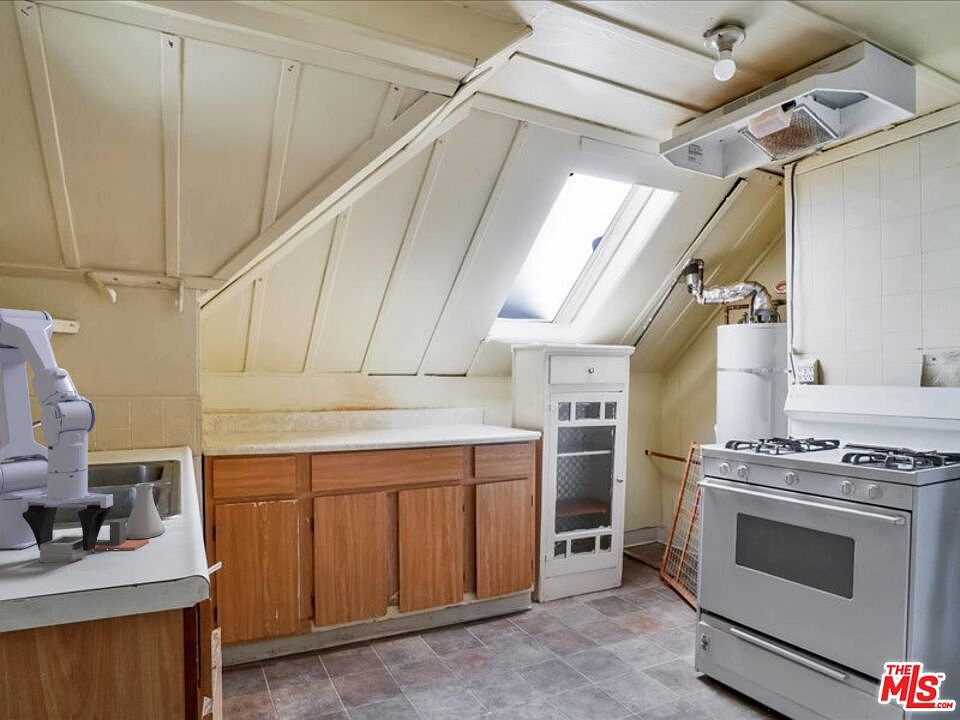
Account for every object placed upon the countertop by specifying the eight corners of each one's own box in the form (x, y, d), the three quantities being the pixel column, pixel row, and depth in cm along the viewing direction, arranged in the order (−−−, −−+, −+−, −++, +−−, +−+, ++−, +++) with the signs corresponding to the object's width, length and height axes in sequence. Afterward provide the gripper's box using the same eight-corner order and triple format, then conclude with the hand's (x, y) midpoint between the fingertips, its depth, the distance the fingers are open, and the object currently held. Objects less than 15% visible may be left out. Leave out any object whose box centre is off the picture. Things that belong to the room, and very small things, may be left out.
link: (39, 562, 98) (40, 544, 98) (62, 552, 103) (62, 535, 103) (72, 562, 98) (72, 544, 98) (93, 552, 103) (93, 535, 103)
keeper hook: (80, 550, 104) (80, 524, 104) (96, 543, 109) (96, 517, 109) (135, 550, 104) (135, 523, 105) (149, 542, 109) (149, 517, 109)
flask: (172, 530, 117) (173, 481, 118) (148, 541, 110) (149, 488, 110) (139, 529, 118) (139, 480, 118) (113, 540, 111) (113, 487, 111)
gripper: (7, 474, 97) (6, 556, 97) (94, 474, 97) (94, 556, 97) (39, 467, 104) (38, 543, 104) (120, 467, 104) (120, 543, 104)
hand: (67, 549), depth 101 cm, fingers open, 7 cm apart
